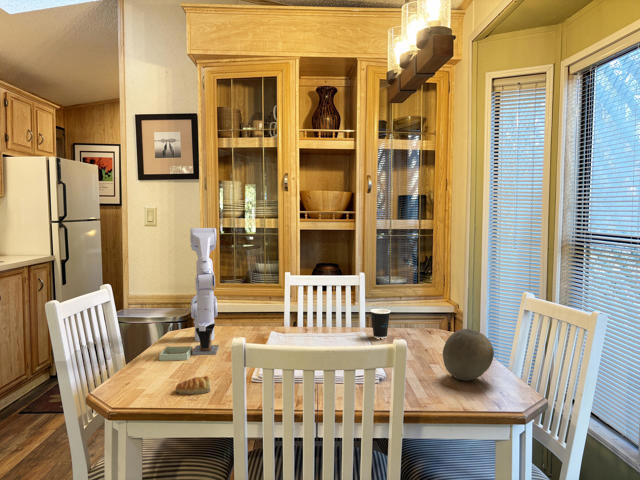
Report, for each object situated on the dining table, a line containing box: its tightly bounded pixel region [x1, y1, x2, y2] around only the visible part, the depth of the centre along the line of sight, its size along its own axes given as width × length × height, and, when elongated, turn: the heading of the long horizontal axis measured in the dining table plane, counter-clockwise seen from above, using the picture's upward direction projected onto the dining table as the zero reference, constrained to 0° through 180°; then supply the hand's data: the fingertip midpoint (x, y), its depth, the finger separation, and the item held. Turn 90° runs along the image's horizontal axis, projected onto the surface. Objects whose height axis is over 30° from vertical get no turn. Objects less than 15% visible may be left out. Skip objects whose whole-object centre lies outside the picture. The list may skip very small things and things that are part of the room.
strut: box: [199, 334, 212, 350], centre depth 163 cm, size 3×3×7 cm
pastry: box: [175, 375, 212, 395], centre depth 129 cm, size 9×7×4 cm
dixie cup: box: [370, 308, 391, 339], centre depth 185 cm, size 8×8×11 cm
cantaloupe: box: [442, 328, 495, 382], centre depth 139 cm, size 14×14×15 cm
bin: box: [158, 345, 193, 362], centre depth 157 cm, size 9×9×3 cm
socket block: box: [191, 344, 220, 356], centre depth 163 cm, size 8×8×2 cm
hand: (205, 346), depth 163 cm, fingers closed on strut, 3 cm apart
